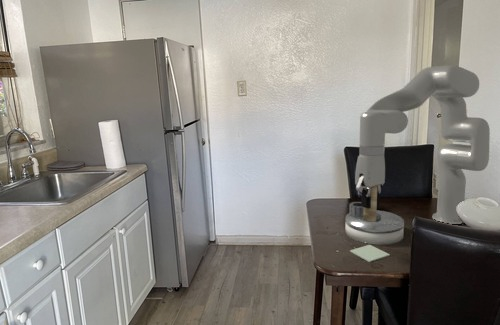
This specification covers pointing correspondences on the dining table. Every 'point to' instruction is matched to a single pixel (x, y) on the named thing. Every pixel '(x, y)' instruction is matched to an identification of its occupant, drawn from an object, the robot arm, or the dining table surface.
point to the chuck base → (374, 236)
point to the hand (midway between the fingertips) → (370, 205)
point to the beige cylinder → (370, 213)
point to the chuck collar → (383, 222)
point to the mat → (369, 253)
